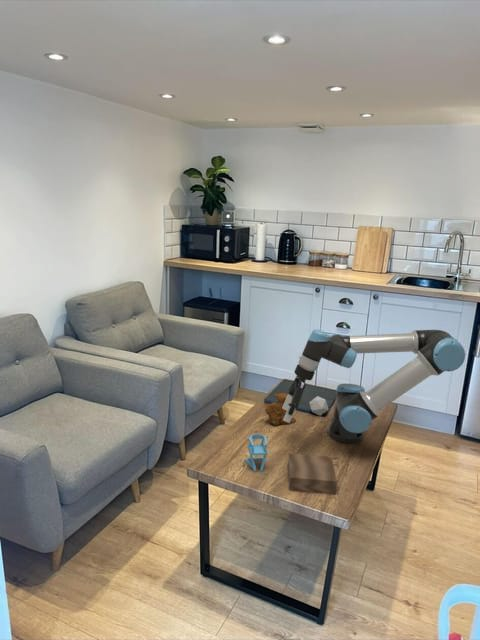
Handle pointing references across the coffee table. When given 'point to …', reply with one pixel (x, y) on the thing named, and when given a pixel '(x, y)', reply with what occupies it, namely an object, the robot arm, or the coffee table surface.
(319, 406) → the die
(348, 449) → the coffee table surface
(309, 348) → the robot arm
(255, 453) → the chair
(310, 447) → the coffee table surface
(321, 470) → the wooden square box
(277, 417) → the stuffed squirrel
